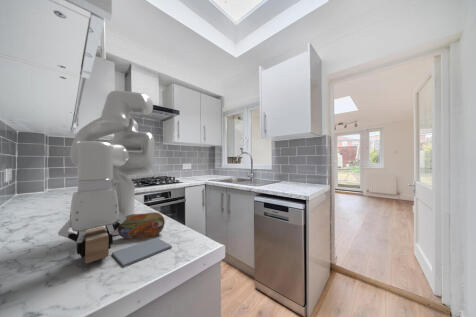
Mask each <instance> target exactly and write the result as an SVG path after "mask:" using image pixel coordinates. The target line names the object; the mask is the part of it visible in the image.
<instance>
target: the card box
mask: <svg viewBox="0 0 476 317" xmlns="http://www.w3.org/2000/svg"><path fill="white" fill-rule="evenodd" d="M104 228H105V226H101V227H97V228H93V229H89V230H86V233H85V236H84V240H85V257H84V260H85V261H84V262H85V264H89V263H92V262H95V261H98V260H101V259H104V258H107V257H109V249H108V247H109V236H108V234H107V232H106V230H105V229H104Z"/></svg>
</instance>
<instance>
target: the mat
mask: <svg viewBox="0 0 476 317" xmlns="http://www.w3.org/2000/svg"><path fill="white" fill-rule="evenodd" d="M169 249H172V244H169V243H167V242H166V241H164V240H162V239H161V238H158V237H154V238H151V239H148V240H146V241H142V242H139V243H136V244H133V245H130V246H127V247H124V248H121V249H117V250H115V251H112V252H111V256H113V258H114V259H115V260H116V261H117V262H118V263H119V264H120V265H121V266H122V268H125V267H128V266H130V265H133V264H134V263H137V262H140V261H143V260H145V259H148V258H150V257H152V256H154V255H157V254H159V253H162V252H165V251H167V250H169Z"/></svg>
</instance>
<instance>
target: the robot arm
mask: <svg viewBox="0 0 476 317" xmlns="http://www.w3.org/2000/svg"><path fill="white" fill-rule="evenodd" d="M153 110H154V104H153V100H152V98H151V97H150V96H149V95H147V94H144V93H141V92H136V91H135V92H134V91H128V90H127V91H126V90H111V91H110V92H109V93H107V96H106V98H105V102H104V105H103V108H102V112H101V115H100V117H98V118H96V119H94V120H91V121H90V122H89V123H87V124H86V125H84V126H82V127H81V128H80V129H79V130H78V131H77V133H76V134H75V136H74V138H73V140H72V144H71V147H70V152H69V158H70V161H71V162H72V164H73V165H75V166H77V191H75V192H73V194H72V196H71V202H70V209H69V219H68V220H67V221H66V222H65V223H64V225H63V226H62V227H61V228H60V229H59V230H58V231H57V235H58V236H59V237H63V238H68V239H69V240H72V241H74V242H76V254H77V255H79V256H80V257H81V259H83V258H85V240H84V236H85V233H86V230H91V229H95V228H100V227H104V229H105V230H106V232H107V234H108V236H109V247H108V250H111V245H113V243H114V242H113V237H114V236H120V235H119V233H118V227H119V226H120V224H122V223H123V222H124V221H125V220H126V216H128V215H131V214H135V196H136V195H135V194H136V193H135V192H136V191H135V189H136V186H135V183H134V182H133V180H132V179H131V178H130V177H129V176H135V175H136V176H137V175H141V176H143V175H149V174H151V173H152V172H153V170H154V164H155V163H154V162H155V147H156V146H155V138H154V135H153V134H152V133H151V132H148V131H138V129H139V125H138V122H137V121H136V120H135V119H134V118H133V117H132V116H131V114H136V115H146V116H147V115H151V114H152V112H153ZM110 135H113V140H112V143H109V142H108V141H100V140H99V139H101V138H103V137H106V136H110ZM98 140H99V141H98ZM70 229H71V230H72V231H73V232H72V231H70ZM75 232H76V233H75Z"/></svg>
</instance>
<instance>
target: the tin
mask: <svg viewBox="0 0 476 317" xmlns="http://www.w3.org/2000/svg"><path fill="white" fill-rule="evenodd" d="M165 221H166V220H165V218H164V216H163V215H162V214H161V213H160V212H157V211H155V212H143V213H142V212H141V213H134V214H131V215H128V216H126V220H125V221H124V222H123V223H122V224H120V226H119V227H118V233H119V235H118V236H120V237H121V238H123V239H126V240H133V239H136V240H137V239H142V238H143V239H144V238H151V237H155V236H158V235H159V234H160V233H161V232H162V231H163V230H164V227H165V224H166V222H165Z"/></svg>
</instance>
